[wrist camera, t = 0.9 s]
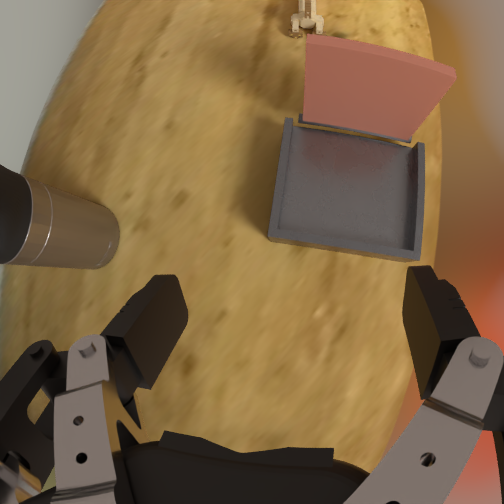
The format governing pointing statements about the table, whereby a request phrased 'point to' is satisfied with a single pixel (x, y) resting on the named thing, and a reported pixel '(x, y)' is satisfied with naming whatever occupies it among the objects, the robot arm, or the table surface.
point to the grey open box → (349, 194)
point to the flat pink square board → (370, 87)
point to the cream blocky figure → (306, 19)
